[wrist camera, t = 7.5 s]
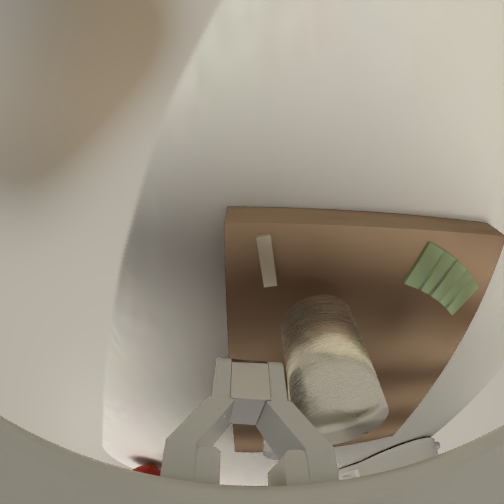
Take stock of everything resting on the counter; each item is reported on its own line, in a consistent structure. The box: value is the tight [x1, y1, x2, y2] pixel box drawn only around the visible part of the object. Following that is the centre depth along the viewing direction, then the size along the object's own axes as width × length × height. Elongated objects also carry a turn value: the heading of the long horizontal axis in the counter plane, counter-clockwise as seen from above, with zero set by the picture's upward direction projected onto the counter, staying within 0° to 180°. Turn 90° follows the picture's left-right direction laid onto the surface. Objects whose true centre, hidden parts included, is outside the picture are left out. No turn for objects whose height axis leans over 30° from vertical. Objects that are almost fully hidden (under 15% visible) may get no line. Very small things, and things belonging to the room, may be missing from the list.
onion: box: [133, 463, 161, 476], centre depth 27 cm, size 6×6×8 cm
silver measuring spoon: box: [262, 295, 389, 460], centre depth 13 cm, size 17×4×6 cm, turn 1°
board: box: [224, 207, 504, 452], centre depth 18 cm, size 23×16×2 cm
